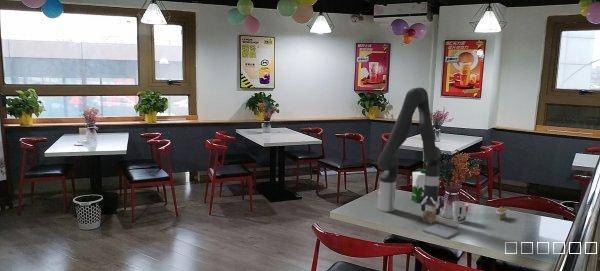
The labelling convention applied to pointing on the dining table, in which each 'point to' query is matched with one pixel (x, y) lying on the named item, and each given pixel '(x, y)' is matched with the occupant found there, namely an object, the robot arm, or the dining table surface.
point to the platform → (501, 212)
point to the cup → (460, 211)
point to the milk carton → (418, 184)
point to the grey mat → (441, 231)
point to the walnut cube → (429, 216)
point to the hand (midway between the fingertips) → (430, 212)
